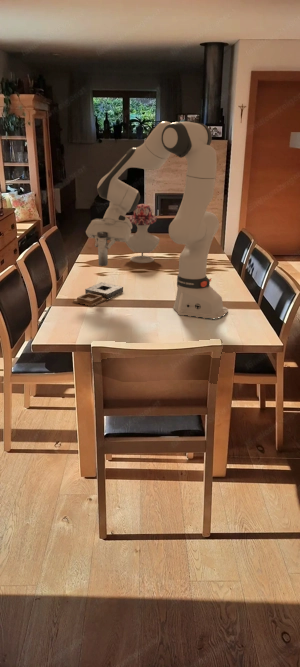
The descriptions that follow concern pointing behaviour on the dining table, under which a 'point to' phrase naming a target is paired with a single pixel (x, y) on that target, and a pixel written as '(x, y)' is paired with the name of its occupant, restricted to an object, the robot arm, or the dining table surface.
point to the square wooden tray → (89, 299)
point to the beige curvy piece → (142, 234)
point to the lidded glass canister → (102, 248)
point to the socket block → (105, 290)
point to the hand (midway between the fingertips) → (102, 247)
